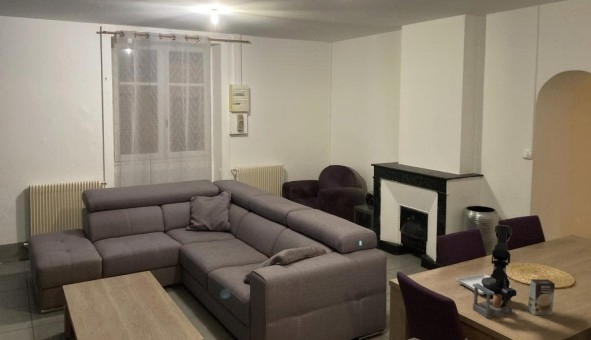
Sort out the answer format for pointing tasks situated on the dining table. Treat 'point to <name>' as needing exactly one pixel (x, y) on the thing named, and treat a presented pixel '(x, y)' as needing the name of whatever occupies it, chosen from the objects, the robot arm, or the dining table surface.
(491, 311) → the socket block
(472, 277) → the salad plate
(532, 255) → the dining table surface
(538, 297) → the coffee box
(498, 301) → the peg
